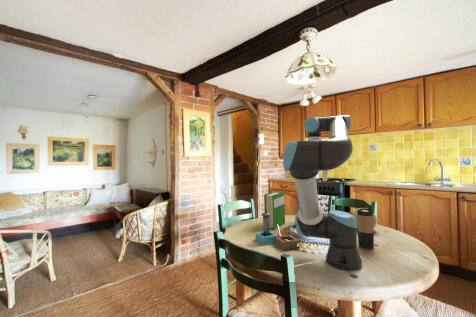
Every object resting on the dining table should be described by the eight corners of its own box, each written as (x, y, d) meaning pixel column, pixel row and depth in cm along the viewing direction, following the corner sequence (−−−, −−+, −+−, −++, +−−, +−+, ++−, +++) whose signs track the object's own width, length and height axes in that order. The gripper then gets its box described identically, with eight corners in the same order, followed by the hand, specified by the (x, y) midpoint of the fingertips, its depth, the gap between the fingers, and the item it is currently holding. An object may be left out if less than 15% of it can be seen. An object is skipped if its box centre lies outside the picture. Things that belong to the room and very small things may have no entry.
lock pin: (272, 241, 129) (272, 213, 129) (264, 243, 128) (263, 214, 128) (268, 238, 134) (268, 212, 134) (260, 240, 133) (260, 212, 133)
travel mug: (376, 250, 117) (375, 211, 117) (360, 249, 118) (359, 211, 118) (370, 244, 124) (370, 208, 124) (356, 243, 126) (355, 208, 126)
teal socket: (278, 244, 128) (278, 235, 128) (262, 246, 125) (262, 238, 125) (270, 238, 137) (270, 230, 137) (255, 240, 134) (255, 232, 134)
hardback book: (274, 229, 154) (273, 195, 154) (265, 228, 158) (264, 194, 158) (285, 223, 168) (284, 191, 168) (276, 222, 172) (275, 191, 172)
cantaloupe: (348, 230, 149) (347, 207, 149) (356, 225, 158) (355, 204, 158) (372, 235, 138) (372, 211, 138) (380, 230, 147) (379, 207, 147)
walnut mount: (300, 249, 120) (299, 240, 120) (283, 252, 116) (283, 243, 116) (290, 243, 129) (289, 234, 129) (274, 245, 126) (274, 236, 126)
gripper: (326, 145, 136) (327, 180, 136) (292, 145, 126) (293, 182, 126) (336, 144, 129) (337, 180, 129) (300, 144, 119) (301, 183, 119)
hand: (315, 181), depth 127 cm, fingers open, 13 cm apart
